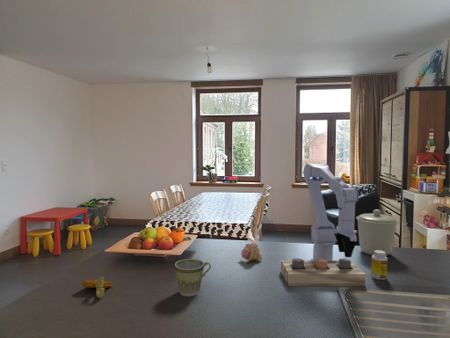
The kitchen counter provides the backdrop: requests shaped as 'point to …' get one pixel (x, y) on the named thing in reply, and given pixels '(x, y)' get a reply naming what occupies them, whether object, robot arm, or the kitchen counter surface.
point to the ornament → (97, 285)
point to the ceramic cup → (190, 276)
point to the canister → (376, 232)
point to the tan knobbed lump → (251, 252)
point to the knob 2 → (344, 264)
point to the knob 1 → (297, 264)
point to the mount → (322, 275)
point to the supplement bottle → (379, 265)
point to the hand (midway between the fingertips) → (345, 254)
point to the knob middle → (321, 264)
